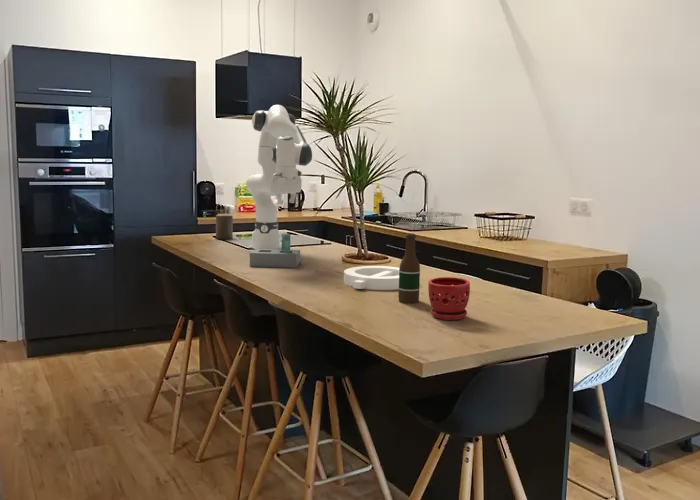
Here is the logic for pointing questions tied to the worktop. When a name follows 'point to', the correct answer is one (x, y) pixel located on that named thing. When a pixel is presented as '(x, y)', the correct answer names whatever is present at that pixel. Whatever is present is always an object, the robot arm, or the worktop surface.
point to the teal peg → (285, 243)
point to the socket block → (274, 258)
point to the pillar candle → (224, 226)
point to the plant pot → (449, 297)
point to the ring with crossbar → (372, 277)
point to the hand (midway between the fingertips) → (286, 203)
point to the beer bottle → (409, 273)
